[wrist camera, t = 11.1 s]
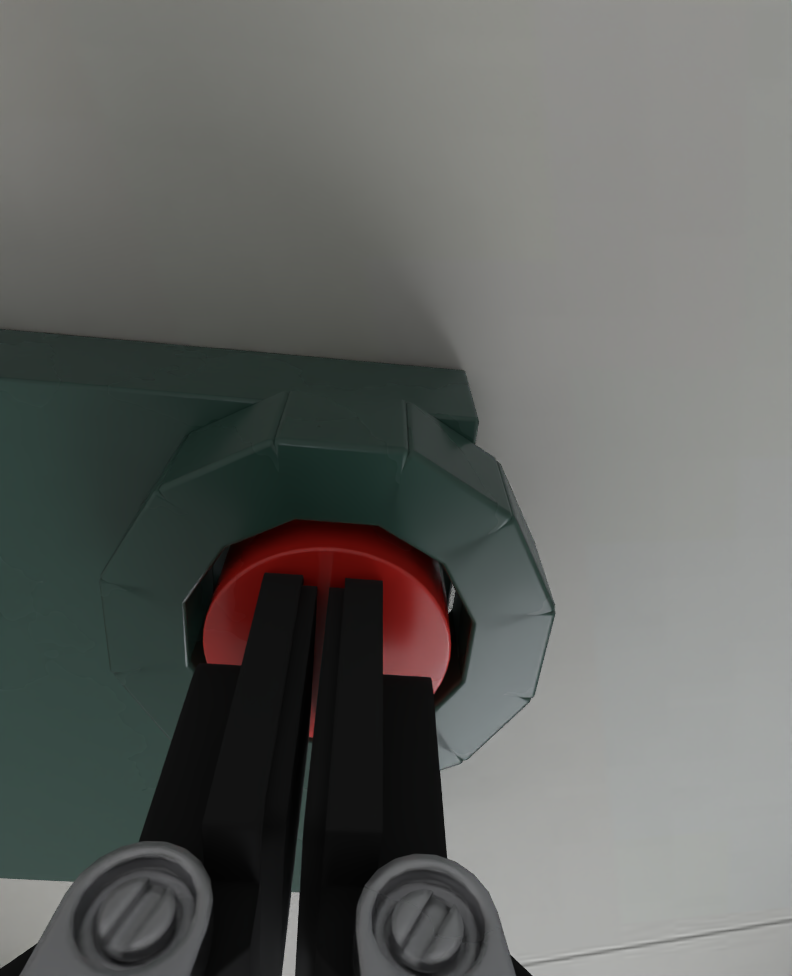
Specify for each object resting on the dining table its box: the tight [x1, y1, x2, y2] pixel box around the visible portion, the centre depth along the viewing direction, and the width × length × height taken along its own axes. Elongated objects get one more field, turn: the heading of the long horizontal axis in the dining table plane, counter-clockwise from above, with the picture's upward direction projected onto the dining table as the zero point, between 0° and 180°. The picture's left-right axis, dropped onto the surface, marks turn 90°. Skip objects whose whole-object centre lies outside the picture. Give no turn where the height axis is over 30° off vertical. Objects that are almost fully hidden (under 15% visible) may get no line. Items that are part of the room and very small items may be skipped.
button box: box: [0, 329, 555, 892], centre depth 14 cm, size 12×11×4 cm
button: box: [203, 520, 451, 737], centre depth 11 cm, size 4×4×2 cm
